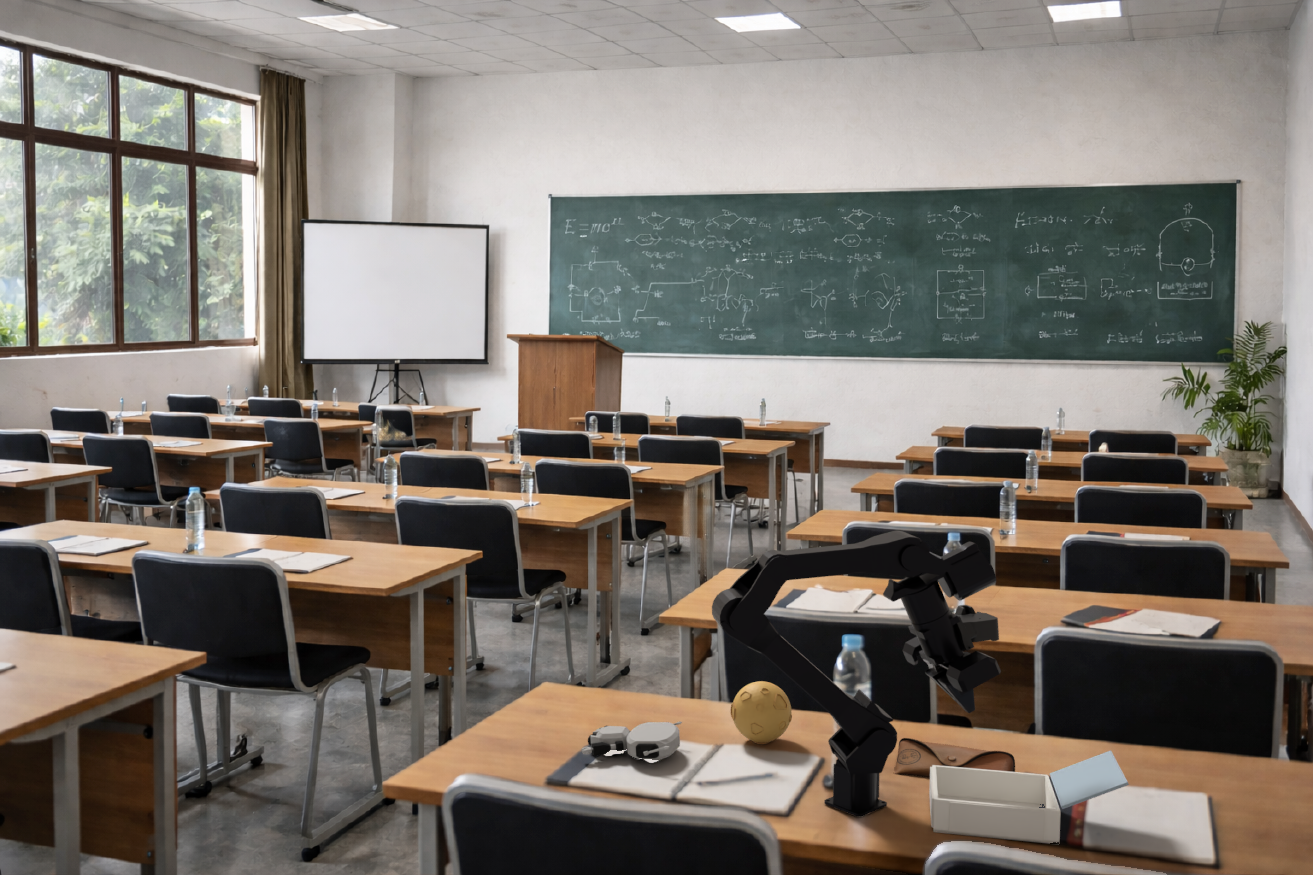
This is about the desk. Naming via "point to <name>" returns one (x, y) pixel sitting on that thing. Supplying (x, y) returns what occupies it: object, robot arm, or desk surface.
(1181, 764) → the desk surface
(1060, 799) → the flap
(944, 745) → the sunglasses case
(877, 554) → the robot arm
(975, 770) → the carton
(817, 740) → the desk surface
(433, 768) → the desk surface
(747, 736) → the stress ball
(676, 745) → the robot toy
